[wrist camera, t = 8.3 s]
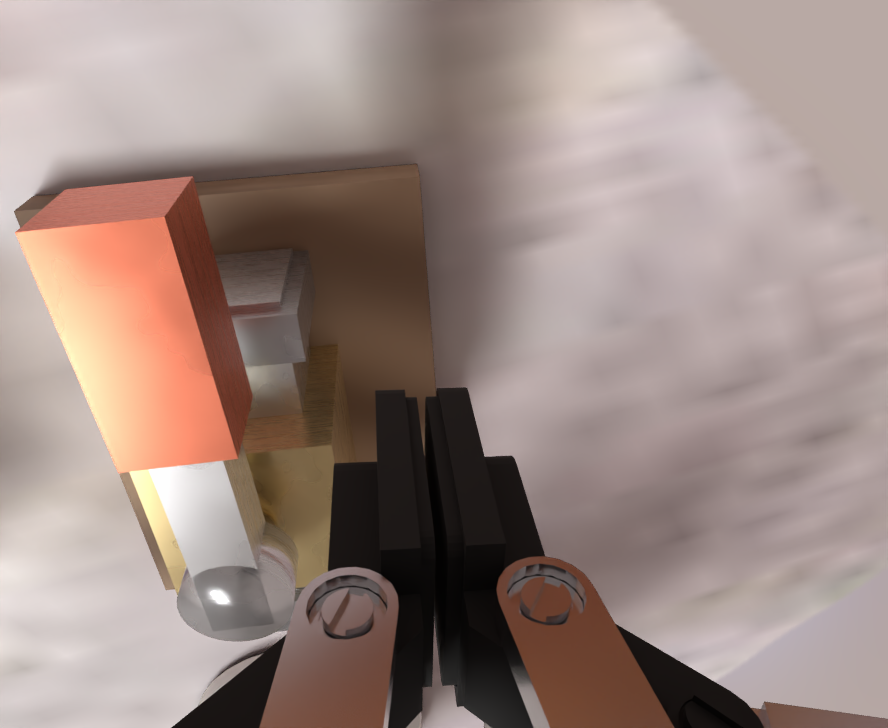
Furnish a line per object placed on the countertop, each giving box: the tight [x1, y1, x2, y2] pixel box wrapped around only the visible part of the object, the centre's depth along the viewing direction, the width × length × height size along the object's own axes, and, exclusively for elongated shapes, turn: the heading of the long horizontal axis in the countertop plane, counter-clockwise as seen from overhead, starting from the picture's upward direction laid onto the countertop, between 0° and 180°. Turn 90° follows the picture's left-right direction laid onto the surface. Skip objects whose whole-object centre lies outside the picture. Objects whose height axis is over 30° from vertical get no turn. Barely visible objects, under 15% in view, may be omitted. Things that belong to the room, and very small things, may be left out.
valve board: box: [14, 164, 436, 590], centre depth 28 cm, size 18×13×2 cm
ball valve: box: [130, 248, 357, 632], centre depth 24 cm, size 14×6×7 cm, turn 3°
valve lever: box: [15, 176, 299, 641], centre depth 18 cm, size 13×3×3 cm, turn 4°
